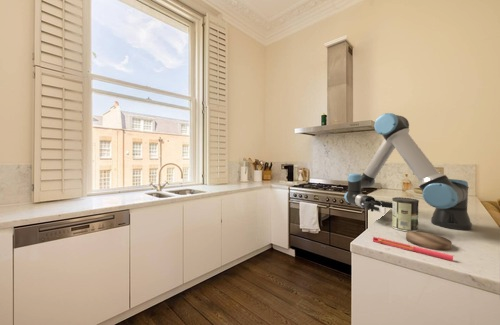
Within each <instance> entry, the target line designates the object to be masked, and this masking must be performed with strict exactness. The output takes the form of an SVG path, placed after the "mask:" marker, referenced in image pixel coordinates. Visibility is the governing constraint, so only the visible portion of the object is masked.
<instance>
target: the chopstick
mask: <svg viewBox="0 0 500 325" xmlns="http://www.w3.org/2000/svg"><path fill="white" fill-rule="evenodd" d="M372 242H375V243H379V244H383V245H387V246H391V247H395V248H398V249H403V250H407V251H413V252H415V253H418V254H422V255H426V256H431V257H434V258H438V259H442V260H446V261H450V262H453V261H454V257H455V255H453V254H449V253H445V252H441V251H438V250H434V249H428V248H424V247H420V246H417V245H413V244H412V245H410V244H407V243H403V242H399V241H395V240H391V239H387V238H382V237H375V236H373V238H372Z"/></svg>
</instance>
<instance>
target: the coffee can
mask: <svg viewBox="0 0 500 325" xmlns="http://www.w3.org/2000/svg"><path fill="white" fill-rule="evenodd" d="M392 203H393V207H392V208H391V209H392V210H391V211H392V212H391V214H392V216H391V217H392V219H391V220H392V222H391V227H392V228H393V229H395V230H397V231H400V232H406V233H408V232H419V203H420V200H419V199H417V198H411V197H398V196H397V197H392Z"/></svg>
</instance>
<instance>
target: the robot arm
mask: <svg viewBox="0 0 500 325" xmlns="http://www.w3.org/2000/svg"><path fill="white" fill-rule="evenodd" d="M374 131H375V132H376V133H377V134H378V135H380V136H382V137H383V138H384V139H383V140H382V142H381V144H380V145H379V146H378V149H377V150H376V152H375V153H374V155H373V156H372V158H371V160H370V161H369V163H368V165H367V167H366V168H365V170H364V171H363V172H362V173H349V174H348V179H347V181H348V182H347V192H345V193H344V196H343V197H344V200H345V202H346V203H348V204H351V205H354V206H357V207H360V208H361V209H366V210H367V211H370V212H379V213H382V214H387V212H386V211H387V209H392V207H393V202H390V201H385V200H378V199H377V200H376V198H375V197H373V195H372V196H371V195H366V194H363V193H362V189H364V188H370V187H371V188H372V187H373V186H374V185H375V182H376V181H375V179H376V178H377V177H378V175H379V173H380V171H381V170H382V168H383V166H384V165H385V164H386V163H387V161H388V159H389V158H390V156H391V155H392V153H393V152H394V150H395V149H396V151H397V152H398V154H399V155H400V157H401V158H402V159H403V161H404V162H405V163H406V165H407V166H408V168H409V169H410V170H411V172H412V173H413V175H414V176H415V177H416V179H417V180H418V181H419V184H418V187H419V189H420V190H421V192H422V199H423V200H424V201H425V202H426V204H428V206H430V207H432V208H434V211H433V213H432V216H431V218H430V219H431V220H430V223H431V224H433V225H435V226H438V227H441V228H446V229H447V228H448V229H454V230H461V231H469V230H472V229H473V223H472V221H471V219H470V216H469V214H468V200H469V198H468V196H469V183H468V181H466V180H463V179H454V178H449V177H448V176H447V175H446V174H443V173H440V172H439V171H438V169H437V168H436V167H435V165H434V164H433V163H432V162H431V160H430V159H429V158H428V157H427V156H426V154H425V153H424V151H423V150H422V149H421V148H420V147H419V146H418V144H417V143H416V141H415V140H414V139H413V138H412V136H411V134H409V132H410V123H409V120H408V119H407V118H406V117H404V116H402V115H399V114H398V115H397V114H395V113H393V112H388V113H383V114H381V115H379V116H378V117H377V118H376V120H375V121H374Z"/></svg>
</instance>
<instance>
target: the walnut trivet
mask: <svg viewBox="0 0 500 325" xmlns="http://www.w3.org/2000/svg"><path fill="white" fill-rule="evenodd" d="M405 240H406V242H408V243H410V244H412V245H413V246H416V247H420V248H424V249H429V250H433V251H450V250H452V243H453V242H452V241H451V240H450V239H448V238H446V237H444V236H442V235H438V234H433V233H428V232H422V231H417V232H406V234H405Z"/></svg>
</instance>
